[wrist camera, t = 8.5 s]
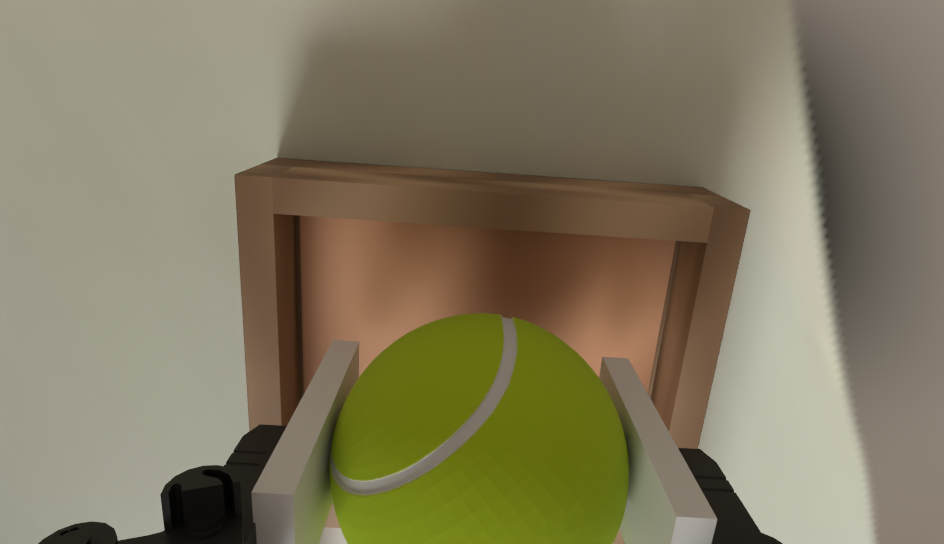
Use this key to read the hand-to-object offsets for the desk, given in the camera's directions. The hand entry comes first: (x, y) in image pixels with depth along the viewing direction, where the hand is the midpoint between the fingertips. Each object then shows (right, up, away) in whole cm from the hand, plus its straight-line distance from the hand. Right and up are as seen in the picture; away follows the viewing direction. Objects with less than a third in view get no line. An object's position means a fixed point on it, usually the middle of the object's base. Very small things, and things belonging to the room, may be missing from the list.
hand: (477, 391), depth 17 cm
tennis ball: (0, 0, +1) cm, 1 cm away
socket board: (0, -4, +5) cm, 7 cm away
